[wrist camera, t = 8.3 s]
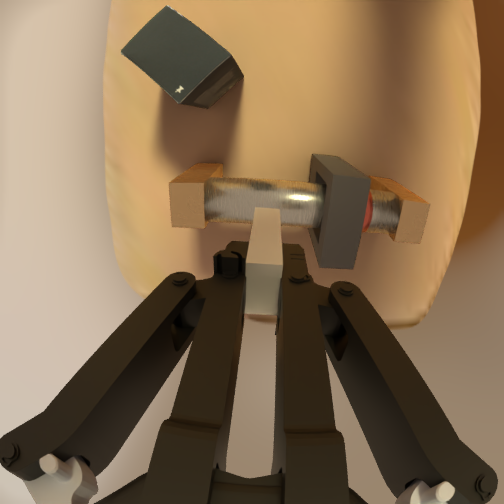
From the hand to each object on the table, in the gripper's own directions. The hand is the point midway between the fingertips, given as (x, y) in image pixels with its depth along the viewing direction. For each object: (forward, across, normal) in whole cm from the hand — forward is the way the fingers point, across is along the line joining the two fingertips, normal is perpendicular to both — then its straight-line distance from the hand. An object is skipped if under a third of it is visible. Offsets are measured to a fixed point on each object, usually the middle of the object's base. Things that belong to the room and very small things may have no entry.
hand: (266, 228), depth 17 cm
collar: (+8, +6, -1) cm, 10 cm away
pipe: (+15, +3, -1) cm, 15 cm away
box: (+15, -8, +12) cm, 21 cm away
